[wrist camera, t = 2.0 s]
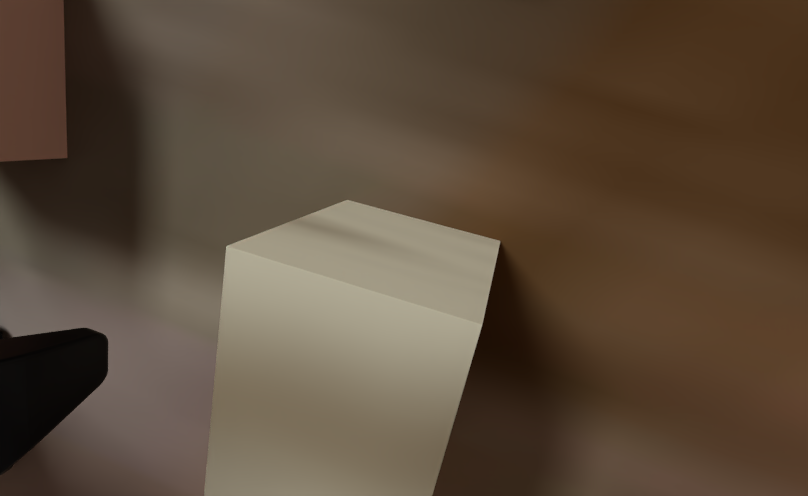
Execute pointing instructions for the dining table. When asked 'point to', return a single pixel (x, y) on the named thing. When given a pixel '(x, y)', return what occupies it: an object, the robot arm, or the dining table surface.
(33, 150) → the terracotta brick
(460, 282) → the birch brick
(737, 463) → the dining table surface
